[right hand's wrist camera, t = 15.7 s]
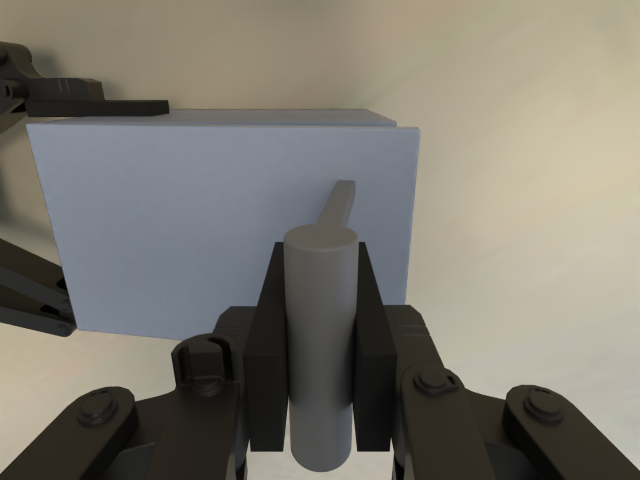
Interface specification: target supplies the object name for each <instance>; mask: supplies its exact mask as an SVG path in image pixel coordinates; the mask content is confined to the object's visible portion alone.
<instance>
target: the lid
mask: <svg viewBox="0 0 640 480" xmlns="http://www.w3.org/2000/svg"><path fill="white" fill-rule="evenodd" d="M26 129H27V133H28V136H29V140H30V144H31V148H32V152H33V156H34V160H35V164H36V168H37V172H38V176H39V179H40V183H41V187H42V191H43V195H44V199H45V203H46V207H47V211H48V215H49V219H50V222H51V226H52V230H53V234H54V238H55V242H56V246H57V250H58V254H59V258H60V262H61V265H62V269H63V273H64V277H65V281H66V285H67V289H68V293H69V297H70V301H71V304H72V308H73V312H74V316H75V320H76V324H77V328H78V330H83V331H93V332H104V333H114V334H125V335H135V336H145V337H156V338H166V339H176V340H185V339H188V338H190V337H193V336H196V335H200V334H206V333H212V332H213V329H214V328H215V325H216V323H217V320H218V318H219V316H220V315H221V314H222V313H223V312H224V311H225V310H227V309H228V308H229V307H230V306H257V304H258V300H259V297H260V293H261V290H262V286H263V283H264V279H265V276H266V272H267V269H268V265H269V262H270V259H271V255H272V252H273V248H274V245H275V242H283V243H284V272H285V300H286V328H287V357H288V385H289V413H290V441H291V451H292V454H293V456H294V458H295V460H296V461H297V462H298V463H299V464H300V465H301V466H303V467H304V468H306V469H308V470H311V471H315V472H327V471H331V470H334V469H336V468H338V467H340V466H341V465H342V464H343V463H344V462H345V461H346V459H347V458H348V456H349V454H350V451H351V438H352V411H353V404H352V396H353V369H354V342H355V315H356V305H357V278H358V251H359V242H365V244H366V247H367V250H368V254H369V257H370V261H371V264H372V268H373V271H374V275H375V278H376V282H377V285H378V288H379V292H380V295H381V299H382V302H383V305H405V298H406V287H407V275H408V264H409V252H410V241H411V230H412V218H413V207H414V195H415V184H416V172H417V161H418V149H419V138H420V130H419V129H418V128H417V127H372V126H300V125H227V124H154V123H81V122H39V123H29V124H26Z"/></svg>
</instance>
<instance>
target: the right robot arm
mask: <svg viewBox="0 0 640 480" xmlns="http://www.w3.org/2000/svg"><path fill="white" fill-rule="evenodd" d="M171 356H172V363H173V369H174V375H175V381H176V388H175V390H174V391H172V392H170V393H167V394H164V395H161V396H157V397H153V398H148V399H144V400H140V401H136V402H135V398H134V395H133V394H132V393H131V392H130V391H129V389H126V388H122V387H119V386H118V387H104V388H100V389H97V390H93V391H91V392H89V393H87V394H85V395H83V396H81V397H79V398H77V399H76V400H75V401H74V402H72V403H71V404H70V405H69V406H67V407H66V408H65V409H64V410H63V411H62V412H61V413H60V414H59V415H58V416H57V417H56V418H55V419H54V420H53V421H52V422H51V423H50V424H49V425H48V426H47V427H46V428H45V429H44V431H43V432H42V433H41V434H40V435H39V436H38V437H37V438H36V439H35V440H34V441H33V442H32V443H31V444H30V445H29V446H28V447H27V448H26V449H25V450H24V451H23V452H22V453H21V454H20V455H19V456H18V457H17V458H16V459H15V460H14V461H13V462H12V463H11V464H10V465H9V466H8V467H7V468H6V469H5V470H4V471H3V472H2V473H1V474H0V480H247V472H248V471H247V460H246V453H247V448H248V443H249V438H250V449H251V452H283V447H284V437H285V427H286V417H287V407H288V397H289V385H288V357H287V328H286V300H285V272H284V243H283V242H275V245H274V248H273V252H272V255H271V259H270V262H269V265H268V269H267V272H266V276H265V279H264V283H263V286H262V290H261V293H260V297H259V300H258V304H257V306H230V307H229V308H228V309H227V310H225V311H224V312H223V313H222V314H221V315H220V316H219V318H218V320H217V323H216V325H215V328H214V329H213V332H212V333H206V334H200V335H196V336H193V337H190V338H188V339H185V340H184V341H183V342H181V343H180V344H178V345H177V346H176V347H175V348H174V350H173V351H172V353H171ZM352 404H353V414H354V424H355V433H356V443H357V452H390V441H391V439H392V444H393V449H394V460H393V471H392V480H640V471H639V470H638V469H637V468H636V467H635V466H634V465H633V464H632V463H631V462H630V461H629V460H628V459H627V458H626V457H625V456H624V455H623V454H622V453H621V452H620V451H619V450H618V449H617V448H616V447H615V446H614V445H613V444H612V443H611V442H610V441H609V440H608V439H607V438H606V437H605V436H604V435H603V434H602V433H601V432H600V431H599V430H598V429H597V428H596V427H595V426H594V425H593V424H592V423H591V422H590V421H589V420H588V419H587V418H586V417H585V416H584V415H583V414H582V413H581V412H580V411H579V410H578V409H577V408H576V407H575V406H574V405H573V404H572V403H571V402H569V401H568V400H567V399H566V398H564V397H563V396H562V395H560V394H558V393H556V392H554V391H552V390H550V389H547V388H543V387H539V386H536V385H520V386H516V387H513V388H512V389H511V390H510V391H509V392H508V393H507V395H506V400H503V399H499V398H495V397H490V396H486V395H482V394H479V393H475V392H472V391H470V390H468V389H466V388H465V387H464V385H463V383H462V382H461V380H460V378H459V377H458V376H457V375H455V374H454V373H453V372H452V371H450V370H448V369H446V368H445V367H444V365H443V363H442V361H441V358H440V356H439V354H438V352H437V349H436V347H435V345H434V343H433V340H432V338H431V336H430V334H429V331H428V329H427V327H426V325H425V322H424V320H423V318H422V316H421V314H420V313H419V312H418V311H416V310H415V309H414V308H413V307H412V306H411V305H383V302H382V299H381V295H380V292H379V288H378V285H377V282H376V278H375V275H374V271H373V268H372V264H371V261H370V257H369V254H368V250H367V247H366V244H365V242H359V251H358V278H357V305H356V315H355V342H354V369H353V396H352Z"/></svg>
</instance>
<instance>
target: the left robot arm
mask: <svg viewBox="0 0 640 480" xmlns="http://www.w3.org/2000/svg"><path fill="white" fill-rule="evenodd" d="M31 62H32V55H31V52H30V51H29V50H28V48H26V47H25V46H23V45H20V44H15V43H8V42H1V41H0V134H2V133H3V132H5V131H6V130H7V129H9V128H10V127H11V126H13V125H14V124H16V123H17V122H18V121H20V120H21V119H22V118H24V117H25V116H27V115H28V117H87V116H157V115H163V114H169V113H170V112H169V105H168V100H104V94H103V89H102V83H101V82H99V81H96V80H94V79H85V78H44V77H42V76H41V75H39V74H38V73H37V72H36V71H35V69H34V68H33V66H32V64H31ZM0 322H1V323H6V324H10V325H14V326H19V327H23V328H27V329H31V330H36V331H40V332H44V333H49V334H53V335H57V336H61V337H67V336H69V335H71V334H72V333H73V332H74V331H75V330H76V329H77V324H76V320H75V316H74V312H73V308H72V304H71V301H70V297H69V293H68V289H67V285H66V281H65V277H64V273H63V269H62V267H60V266H58V265H56V264H54V263H52V262H50V261H47V260H45V259H43V258H41V257H39V256H37V255H35V254H32V253H30V252H28V251H26V250H24V249H22V248H20V247H17V246H15V245H13V244H11V243H9V242H7V241H5V240H2V239H1V238H0Z"/></svg>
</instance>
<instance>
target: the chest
mask: <svg viewBox="0 0 640 480" xmlns="http://www.w3.org/2000/svg"><path fill="white" fill-rule="evenodd" d="M169 112H170V113H169V114H163V115H157V116H87V117H79V118H71V119H63V120H55V121H47V122H81V123H154V124H227V125H300V126H372V127H396V126H397V122H396V121H393V120H391V119H389V118H386V117H384V116H381V115H379V114H377V113H374V112H372V111H369V110H367V109H169Z"/></svg>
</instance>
